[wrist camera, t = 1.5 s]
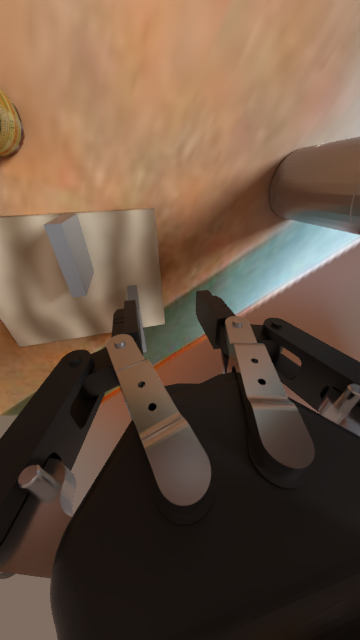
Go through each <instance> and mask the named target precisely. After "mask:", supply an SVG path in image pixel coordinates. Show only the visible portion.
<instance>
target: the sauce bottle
mask: <svg viewBox="0 0 360 640" xmlns="http://www.w3.org/2000/svg"><path fill="white" fill-rule="evenodd" d="M23 140H24V130H23V126H22V122H21V119H20V116H19V113H18V111H17V109H16V107H15V106H14V105H13V103H12V102H11V101H10V99H9V98H8V96H7V95H6V93H5V92H4V91H3V90H2V89H1V88H0V156H9V155H11V156H12V155H14V154H15V153H16V152H18V150H19V149H20V148H21V146H22V145H23Z"/></svg>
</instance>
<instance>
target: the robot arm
mask: <svg viewBox="0 0 360 640" xmlns="http://www.w3.org/2000/svg"><path fill="white" fill-rule="evenodd" d="M269 195H270V204H271V207H272V209H273V211H274V212H275V214H276V215H278V216H280V217H282V218H286V219H291V220H295V221H299V222H304V223H308V224H313V225H317V226H322V227H326V228H331V229H336V230H340V231H345V232H349V233H354V234H358V235H360V137H356V138H351V139H346V140H341V141H336V142H330V143H325V144H320V145H315V146H310V147H305V148H301V149H297V150H296V151H294V152H292V153H291V154H290V155H289V156H287V157H286V158H285V159H284V160H283V162H282V163H281V164H280V166H279V167H278V169H277V171H276V172H275V175H274V177H273V179H272V183H271V186H270V194H269ZM196 315H197V319H198V320H199V322H200V324H201V326H202V328H203V330H204V332H205V333H206V335H207V337H208V339H209V341H210V343H211V345H212V346H213V348H214V349H219V348H220V349H221V362H222V367H223V374H220V375H217V376H215V377H213V378H211V379H209V380H207V381H205V382H203V383H200V384H174V385H169V386H164V385H163V384H162V382H161V380H160V379H159V377H158V375H157V373H156V372H155V370H154V368H153V367H152V365H151V363H150V362H149V360H148V359H144V357H143V348H142V339H141V329H140V322H139V316H138V311H137V305H136V300H135V299H134V300H127V301H124V308H123V309H117V310H116V311H115V313H114V314H113V325H112V337H111V338H110V339H109V340H108V342H107V344H106V347H105V348H104V349H102V350H100V351H98V352H95V353H93V354H90V353H89V352H88V351H87V350H76V351H72V352H70V353H68V354H67V355H65V356H64V357H63V358H62V359H61V360H60V362H59V363H58V364H57V366H56V367H55V368H54V370H53V371H52V372H51V373H50V375H49V376H48V377H47V379H46V380H45V381H44V383H43V384H42V385H41V386H40V388H39V389H38V390H37V392H36V393H35V394H34V396H33V397H32V398H31V400H30V401H29V402H28V403H27V405H26V406H25V407H24V409H23V410H22V411H21V413H20V414H19V415H18V416H17V418H16V419H15V421H14V422H13V423H12V424H11V426H10V427H9V428H8V430H7V431H6V432H5V434H4V435H3V436H2V437H1V439H0V579H5V578H8V577H11V576H13V575H15V574H21V575H29V576H36V577H44V578H51V586H50V599H51V600H50V601H51V610H52V615H53V619H54V624H55V627H56V632H57V637H58V640H360V362H358V361H357V360H355V359H353V358H351V357H349V356H348V355H346V354H344V353H342V352H340V351H339V350H336V349H335V348H333V347H331V346H329V345H328V344H326V343H324V342H322V341H320V340H319V339H317V338H315V337H313V336H311V335H310V334H308V333H306V332H304V331H302V330H301V329H299V328H297V327H295V326H293V325H291V324H290V323H288V322H286V321H284V320H282V319H279V318H268V319H266V320H265V321H264V324H263V325H252V324H250V323H249V321H248V320H247V319H245V318H243V317H239V316H235V314H234V313H233V312H232V311H231V310H230V308H229V307H227V305H226V304H225V302H224V301H223V300H222V299H221V298H219V297H217V296H212V294H211V293H210V292H209V291H208V290H203V291H197V293H196ZM283 347H284V348H285V349H287V350H289V351H290V352H292V353H293V354H295V355H296V356H297V357H299V358H300V360H301V362H302V365H301V367H300V366H298V365H297V364H296V363H294V362H293V361H291V360H290V359H288V358H287V357H286V356H284V355H283V354H281V352H282V349H283ZM281 382H282V383H283V384H285V385H286V386H287V387H288V388H290V389H291V390H292V391H293V392H295V393H296V394H297V395H298V396H299V397H301V398H302V399H303V400H304V401H306V402H307V403H308V404H309V405H311V406H312V407H313V408H314V409H316V410H317V411H318V412H319V413H320V414H318V413H316V412H315V411H313V410H311V409H309V408H307V407H306V406H304V405H302V404H300V403H298V402H296V401H294V400H292V399H291V398H289V397H287V395H286V393H285V391H284V388H283V386H282V384H281ZM118 385H119V386H120V389H121V391H122V394H123V397H124V399H125V402H126V405H127V408H128V411H129V414H130V416H131V419H132V421H131V423H130V424H129V426H128V427H127V429H126V431H125V432H124V434H123V436H122V437H121V439H120V440H119V442H118V444H117V445H116V447H115V449H114V450H113V452H112V453H111V455H110V457H109V458H108V460H107V462H106V463H105V465H104V467H103V468H102V470H101V471H100V473H99V475H98V476H97V478H96V479H95V481H94V483H93V484H92V486H91V488H90V489H89V491H88V492H87V494H86V496H85V497H84V499H83V501H82V502H81V504H80V505H79V507H78V509H77V510H76V512H75V514H73V511H72V502H73V497H74V493H75V490H76V478H75V476H74V474H73V473H72V472H71V469H72V467H73V465H74V463H75V460H76V458H77V456H78V453H79V451H80V449H81V447H82V444H83V442H84V440H85V437H86V435H87V433H88V431H89V428H90V426H91V424H92V421H93V419H94V417H95V415H96V412H97V410H98V408H99V406H100V403H101V401H102V399H103V396H104V394H105V392H106V391H108V390H110V389H112V388H114V387H116V386H118Z"/></svg>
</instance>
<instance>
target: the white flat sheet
mask: <svg viewBox="0 0 360 640" xmlns="http://www.w3.org/2000/svg"><path fill="white" fill-rule="evenodd" d="M76 213H77V215H78V218H79V222H80V225H81V228H82V232H83V235H84V238H85V242H86V245H87V249H88V252H89V255H90V259H91V262H92V266H93V269H94V275H93V278H92V281H91V283H90V286H89V289H88V292H87V295H86V296H81V297H73V298H72V296H71V293H70V291H69V288H68V286H67V283H66V280H65V278H64V275H63V273H62V270H61V268H60V265H59V263H58V260H57V258H56V255H55V253H54V250H53V248H52V245H51V243H50V240H49V237H48V235H47V232H46V230H45V227H44V224H46V223H48V222H50V221H52V220H54V219H56V218H58V217H59V216H61V215H63V214H76ZM133 285H137V290H138V296H139V302H140V308H141V314H142V320H143V326H144V327H149V326H155V325H161V324H165V319H164V308H163V296H162V285H161V274H160V263H159V251H158V240H157V229H156V217H155V209H154V208H145V209H127V210H109V211H90V212H72V213H54V214H36V215H17V216H0V319H1V320H2V322H3V323H4V325H5V326H6V328H7V329H8V331H9V332H10V333H11V335H12V336H13V338H14V339H15V341H16V342H17V344H18V345H19V347H23V346H29V345H35V344H41V343H48V342H54V341H60V340H67V339H73V338H79V337H86V336H92V335H98V334H104V333H111V332H112V325H113V314H114V313H115V311H116V310H117V309H123V308H124V301H127V286H133Z"/></svg>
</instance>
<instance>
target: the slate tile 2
mask: <svg viewBox="0 0 360 640" xmlns="http://www.w3.org/2000/svg"><path fill="white" fill-rule="evenodd" d="M134 299H135V300H136V305H137V311H138V316H139V322H140V329H141V339H142V348H143V352H147V349H146V341H145V334H144V326H143V320H142V314H141V308H140V302H139V296H138V290H137V285H133V286H127V300H134Z"/></svg>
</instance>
